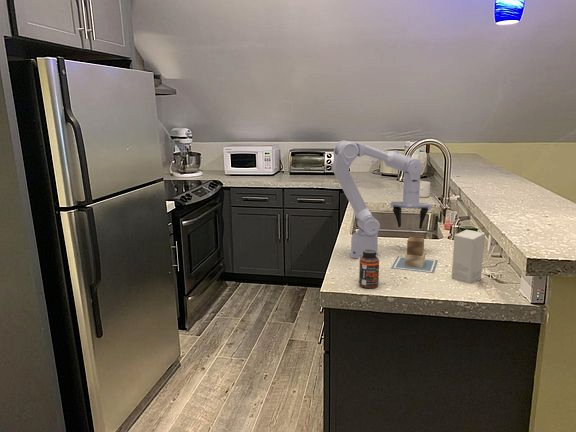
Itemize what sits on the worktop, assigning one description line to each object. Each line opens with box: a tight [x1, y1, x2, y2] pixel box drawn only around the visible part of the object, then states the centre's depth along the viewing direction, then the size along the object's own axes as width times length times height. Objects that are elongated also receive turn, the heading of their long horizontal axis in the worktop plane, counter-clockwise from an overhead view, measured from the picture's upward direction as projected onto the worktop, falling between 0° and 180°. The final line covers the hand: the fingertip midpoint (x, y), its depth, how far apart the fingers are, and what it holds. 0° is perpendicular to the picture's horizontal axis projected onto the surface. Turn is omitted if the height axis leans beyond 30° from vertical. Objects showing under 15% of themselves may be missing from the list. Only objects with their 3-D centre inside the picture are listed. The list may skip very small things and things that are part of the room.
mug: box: [419, 180, 431, 199], centre depth 280 cm, size 12×10×9 cm
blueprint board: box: [390, 255, 439, 274], centre depth 155 cm, size 14×14×1 cm
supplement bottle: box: [358, 249, 380, 289], centre depth 138 cm, size 6×6×11 cm
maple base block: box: [404, 251, 426, 268], centre depth 154 cm, size 6×6×4 cm
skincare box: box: [451, 229, 486, 284], centre depth 140 cm, size 8×7×16 cm
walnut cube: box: [406, 236, 425, 256], centre depth 153 cm, size 5×5×5 cm
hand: (410, 227), depth 167 cm, fingers open, 7 cm apart
